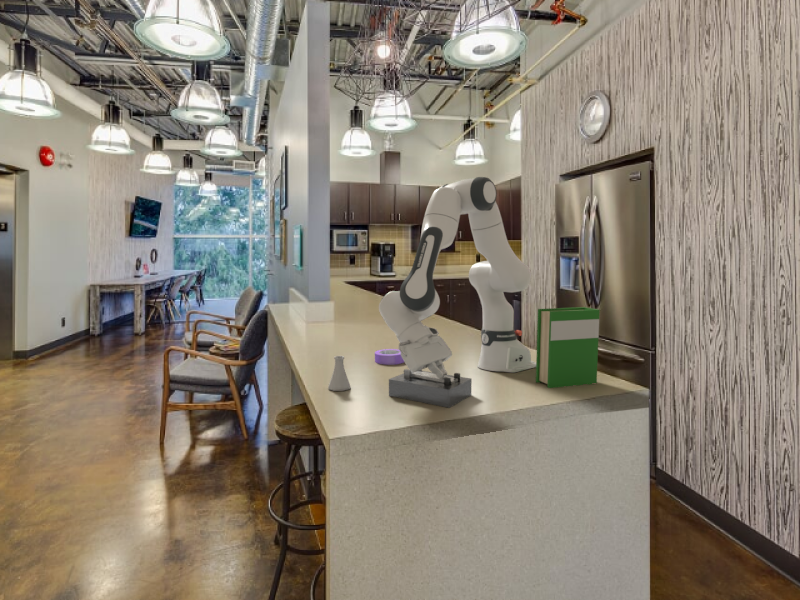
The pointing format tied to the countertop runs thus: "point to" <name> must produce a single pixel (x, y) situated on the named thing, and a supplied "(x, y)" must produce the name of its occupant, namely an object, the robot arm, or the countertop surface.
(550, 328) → the hardback book
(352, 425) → the countertop surface
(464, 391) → the lever switch box
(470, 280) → the robot arm
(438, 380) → the switch lever
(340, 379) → the flask
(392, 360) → the masking tape
